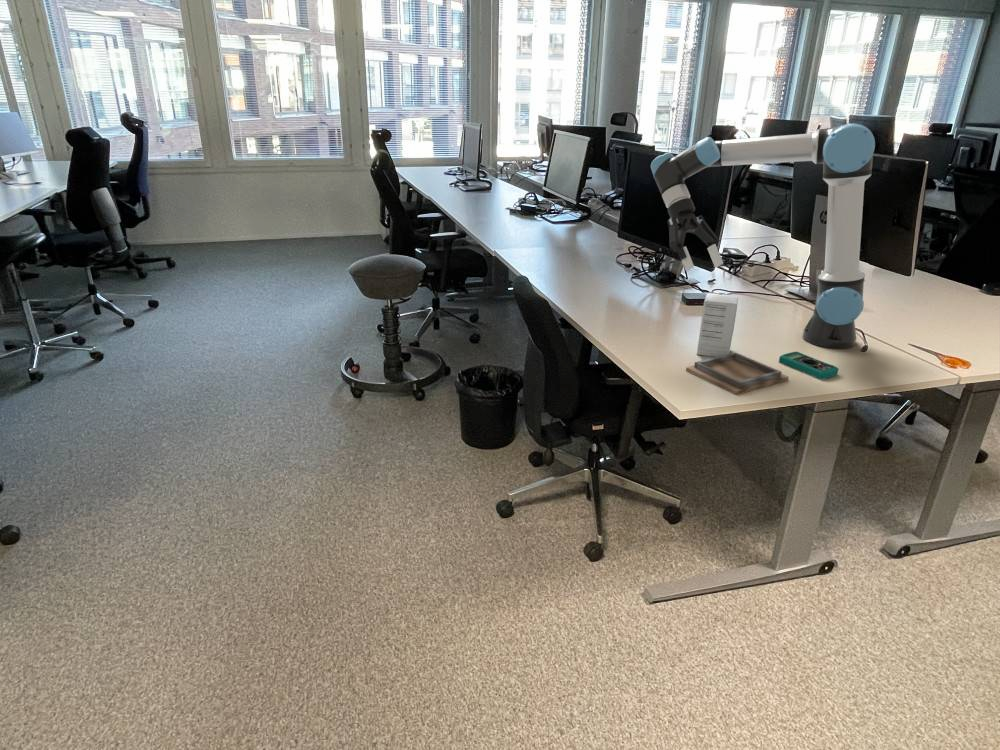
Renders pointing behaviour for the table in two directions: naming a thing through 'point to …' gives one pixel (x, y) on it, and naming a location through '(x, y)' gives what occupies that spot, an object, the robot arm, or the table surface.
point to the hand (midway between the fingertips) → (704, 267)
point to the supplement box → (717, 324)
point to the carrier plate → (736, 373)
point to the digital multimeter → (809, 365)
